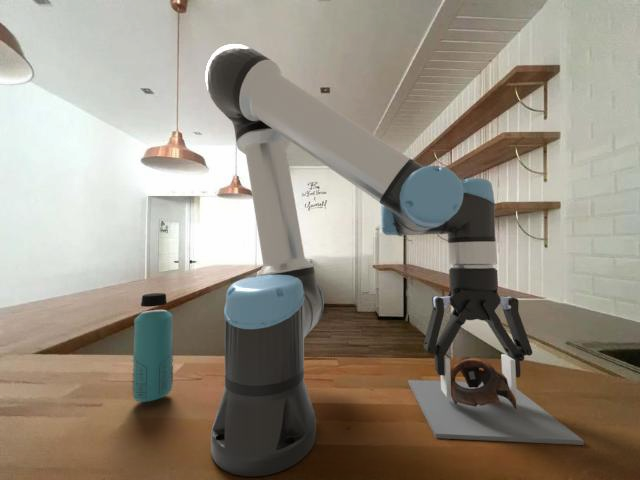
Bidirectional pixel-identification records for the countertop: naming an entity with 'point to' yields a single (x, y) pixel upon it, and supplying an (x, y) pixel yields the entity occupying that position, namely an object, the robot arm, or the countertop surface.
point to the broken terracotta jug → (474, 377)
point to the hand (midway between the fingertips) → (477, 394)
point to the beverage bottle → (152, 351)
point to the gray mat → (489, 418)
